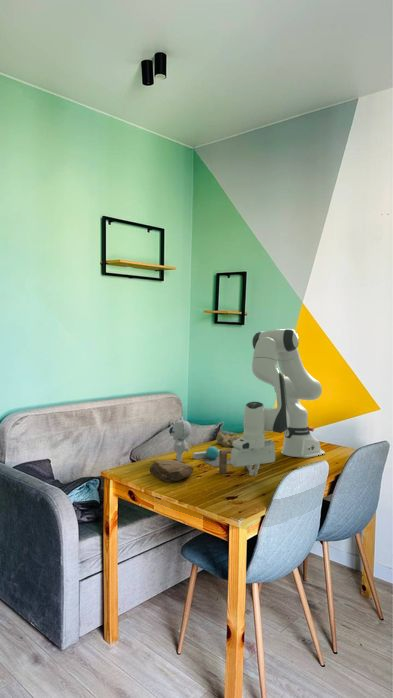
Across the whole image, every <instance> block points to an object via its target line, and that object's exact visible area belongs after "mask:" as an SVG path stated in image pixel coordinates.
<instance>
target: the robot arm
mask: <svg viewBox="0 0 393 698" xmlns="http://www.w3.org/2000/svg"><path fill="white" fill-rule="evenodd" d="M299 339H300V338H299V334H298V333H297V331H296V330H295V329H292V328H285V329H282V328H277V329H271V330H264V331H262V330H261V331H258V332H256V333H255V334H254V336H252V342H251V343H252V347H253V355H252V362H251V368H252V369H251V371H252V373H253V375H254V376H255V377H256V378H257V379H258V380H260V381H261V382H263V383H266V384H268V385H270V386H271V387H273V389H274V392H275V394H276V395H275V396H276V407H275V408H272V407H271V408H268V407H265V405H264V403H262V402H260V401H250V402H249V401H248V402H247V403H246V404H245V405H244V412H243V433H242V436H241V438H239V439H237V440H235V441H233V442H232V445H233V446H234V447H233V446H232V448H231V449H232V451H231V454H230V461H231V464H232V465H231V466H233V467H234V468H241V467H245V466H247V468H248V470H249V471H248V470H247V471H248V474H249V476H257V475H258V471H259V469H260V467H261V465H262V464H268V463H270V464H271V463H274V462H275V461H276V449H275V447H276V445H275V441H273V440H272V439H268V440H267V439H265V435H266V433H265V432H273V433H277V434H282V433H283V434H284V438H283V444H282V448H281V452H280V453H281V454H282V455H285V456H288V457H293V458H295V457H296V458H304V459H309V458H313V457H318V455H319V456H322V454H323V455H325V454H326V452H325V450H323V449H321V443H320V441H319V440H318V439H317V438H316V437H315V436H313V435H312V434H311V432H314V431H315V428H314V427H313V426H308V424H309V423H308V418H309V414H308V413H309V412H308V410H307V409H306V408H305V407H304V406H303V405H302V404H301V401H300V400H302V401H315V400H316V401H317V400H318V399H319V398H320V397H321V395H322V391H323V387H322V385H321V382H320V381H319V380H317V379H315V378H314V377H313V376H312V375H311V374H310V373H309V372H308V371H307V369H306V368H305V367H304V365H303V361H302V359H301V356H300V352H299V349H298V347H299V343H300V340H299ZM278 367H279V368H278ZM279 370H280V371H279ZM253 466H254V468H253ZM251 468H252V469H251Z"/></svg>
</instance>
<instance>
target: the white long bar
mask: <svg viewBox="0 0 393 698" xmlns="http://www.w3.org/2000/svg"><path fill="white" fill-rule="evenodd" d="M220 450H221V449H218V452H219V453H220ZM206 451H207V450H206ZM206 451H205V450H204V451H197V452H196V451H195V452H192V458H193V459H194V460H202V459H209V458H208V457H207V455H206ZM217 458H219V454H218V457H217Z"/></svg>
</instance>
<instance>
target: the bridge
mask: <svg viewBox="0 0 393 698" xmlns="http://www.w3.org/2000/svg"><path fill="white" fill-rule="evenodd" d="M232 449H233V448H227V449H219V450H220V453H219V457H218V458H219V466H218V468H219V469H218V472H219V473H220V474H222V475H225V474H227V472H228V471H227V469H228V468H227V466H228V465H227V459H228V455H231V451H232ZM251 469H252V470H253V467H252V468H251ZM244 470H246V471H248V472H249V470H248V468H247V466H244Z"/></svg>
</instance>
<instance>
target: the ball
mask: <svg viewBox="0 0 393 698" xmlns="http://www.w3.org/2000/svg"><path fill="white" fill-rule="evenodd" d="M218 450H219V449H218V448H217V447H215V446H209V447H208V448H207V449H206V455H207V457H208V458H207V459H216V458H219V457H218V454H219V452H218Z"/></svg>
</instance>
